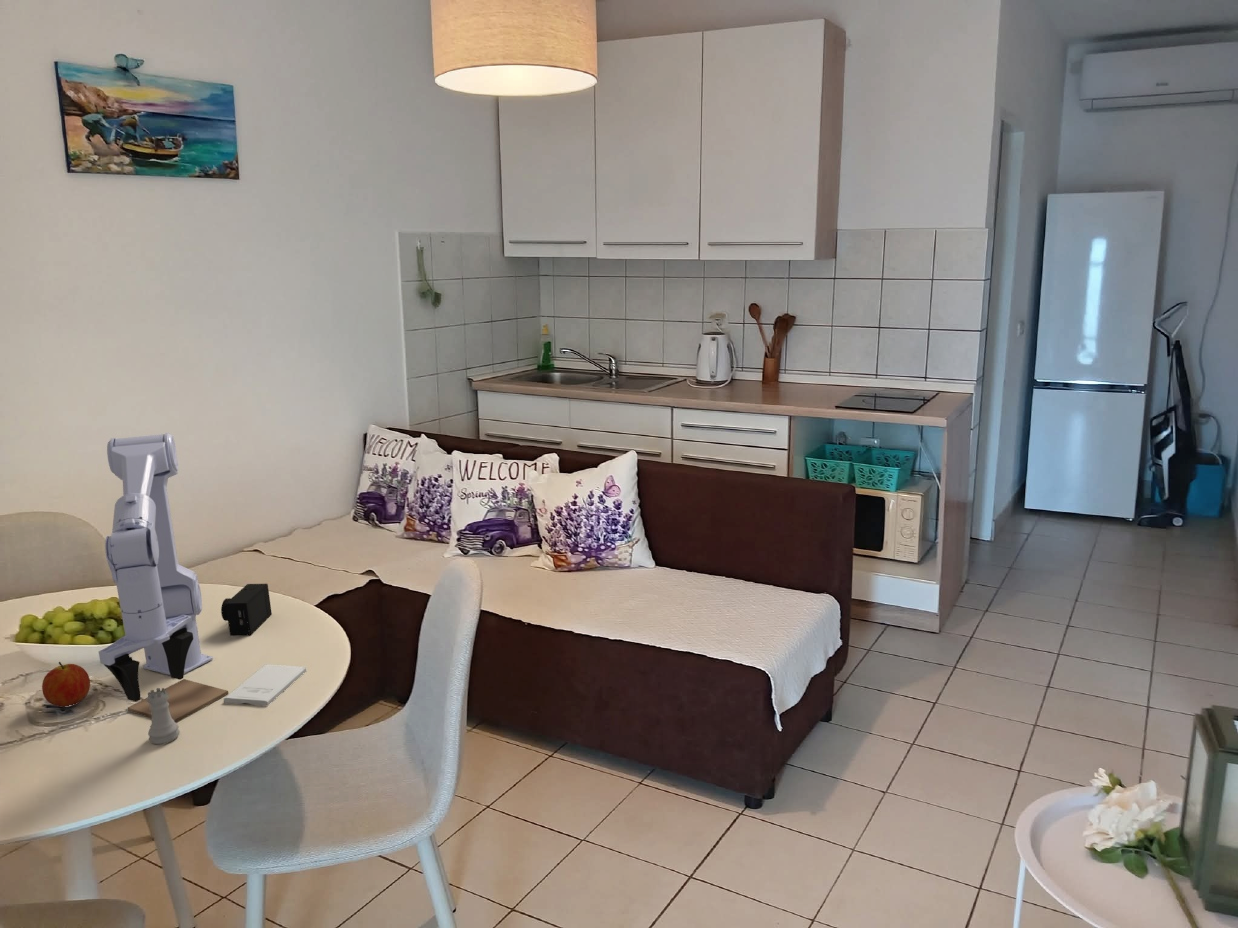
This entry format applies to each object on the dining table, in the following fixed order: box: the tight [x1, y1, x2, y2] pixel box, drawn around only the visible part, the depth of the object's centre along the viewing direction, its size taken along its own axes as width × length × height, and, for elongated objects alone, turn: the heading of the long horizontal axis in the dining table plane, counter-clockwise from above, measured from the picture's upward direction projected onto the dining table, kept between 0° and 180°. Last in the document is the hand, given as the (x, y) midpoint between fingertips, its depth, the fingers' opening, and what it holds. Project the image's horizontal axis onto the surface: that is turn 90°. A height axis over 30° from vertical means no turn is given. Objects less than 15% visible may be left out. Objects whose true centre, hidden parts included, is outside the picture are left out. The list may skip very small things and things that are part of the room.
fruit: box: [41, 661, 91, 708], centre depth 158 cm, size 7×7×8 cm
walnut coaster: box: [127, 678, 229, 724], centre depth 158 cm, size 11×11×1 cm
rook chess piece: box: [146, 687, 181, 746], centre depth 146 cm, size 4×4×8 cm
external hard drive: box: [223, 663, 307, 706], centre depth 163 cm, size 2×8×12 cm
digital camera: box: [220, 583, 273, 637], centre depth 188 cm, size 10×5×7 cm, turn 178°
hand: (156, 688), depth 145 cm, fingers open, 7 cm apart
